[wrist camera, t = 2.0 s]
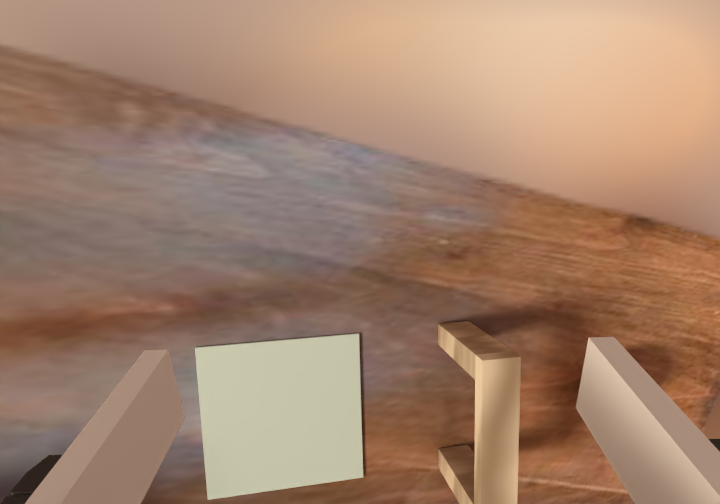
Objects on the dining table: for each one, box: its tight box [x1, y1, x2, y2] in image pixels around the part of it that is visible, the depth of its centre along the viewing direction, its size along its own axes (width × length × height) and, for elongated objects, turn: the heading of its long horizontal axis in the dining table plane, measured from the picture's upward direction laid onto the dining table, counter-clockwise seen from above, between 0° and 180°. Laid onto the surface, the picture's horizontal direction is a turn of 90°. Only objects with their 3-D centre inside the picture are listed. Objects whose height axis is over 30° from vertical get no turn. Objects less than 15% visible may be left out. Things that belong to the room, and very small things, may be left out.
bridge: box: [438, 321, 521, 504], centre depth 38 cm, size 3×14×9 cm, turn 1°
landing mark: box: [195, 333, 363, 500], centre depth 39 cm, size 14×14×1 cm
